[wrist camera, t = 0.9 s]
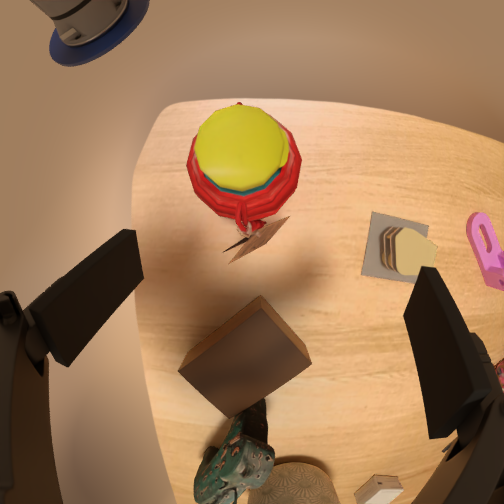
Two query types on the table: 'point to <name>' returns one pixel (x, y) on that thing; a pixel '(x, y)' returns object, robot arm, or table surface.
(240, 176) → the water bottle
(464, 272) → the table surface
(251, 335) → the walnut stand
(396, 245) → the stacked layers on plate
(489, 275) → the bracket
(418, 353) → the robot arm
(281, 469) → the planter
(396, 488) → the small box
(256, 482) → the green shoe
